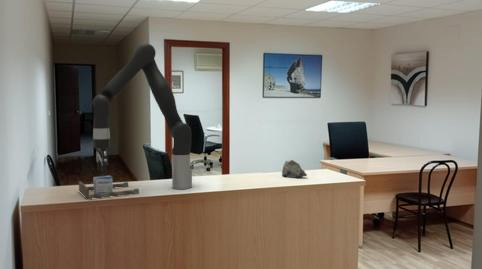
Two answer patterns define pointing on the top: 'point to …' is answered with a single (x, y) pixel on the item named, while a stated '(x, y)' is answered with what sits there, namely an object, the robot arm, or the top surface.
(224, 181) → the top surface
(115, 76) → the robot arm
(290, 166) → the mineral rock
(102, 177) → the medicine box
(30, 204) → the top surface
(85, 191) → the bay
